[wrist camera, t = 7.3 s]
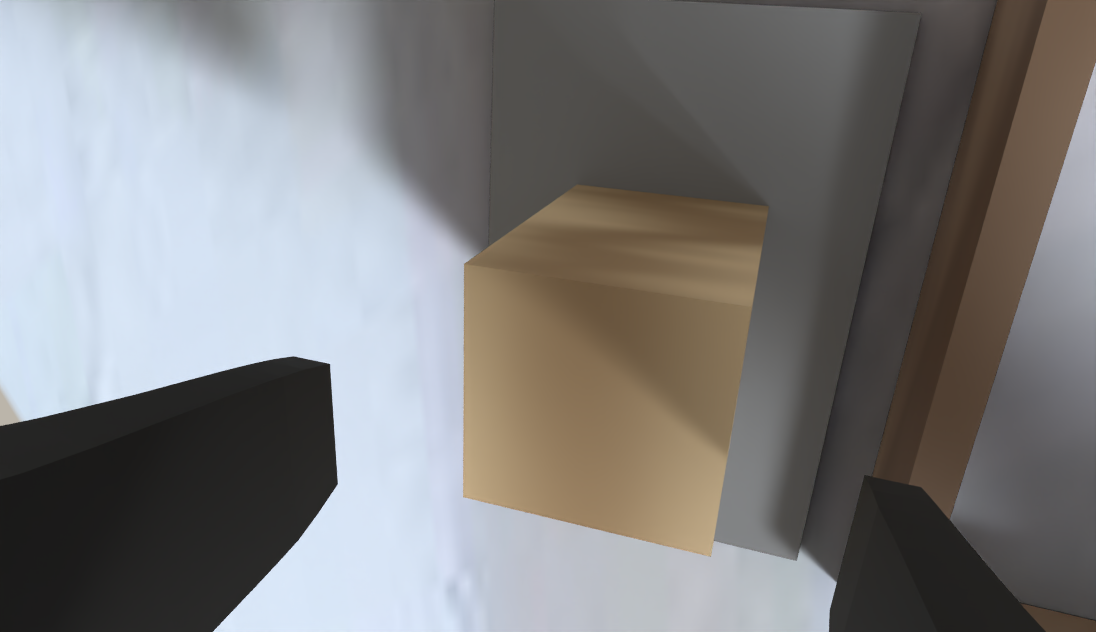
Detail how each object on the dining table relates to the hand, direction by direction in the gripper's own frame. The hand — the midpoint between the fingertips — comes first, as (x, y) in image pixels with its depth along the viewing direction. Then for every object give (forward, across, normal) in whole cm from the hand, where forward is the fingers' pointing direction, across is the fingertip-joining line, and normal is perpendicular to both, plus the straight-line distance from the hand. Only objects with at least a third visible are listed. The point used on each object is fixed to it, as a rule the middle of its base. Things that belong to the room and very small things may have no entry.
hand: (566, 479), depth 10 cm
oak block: (+7, 0, 0) cm, 7 cm away
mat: (+8, 0, 0) cm, 8 cm away
